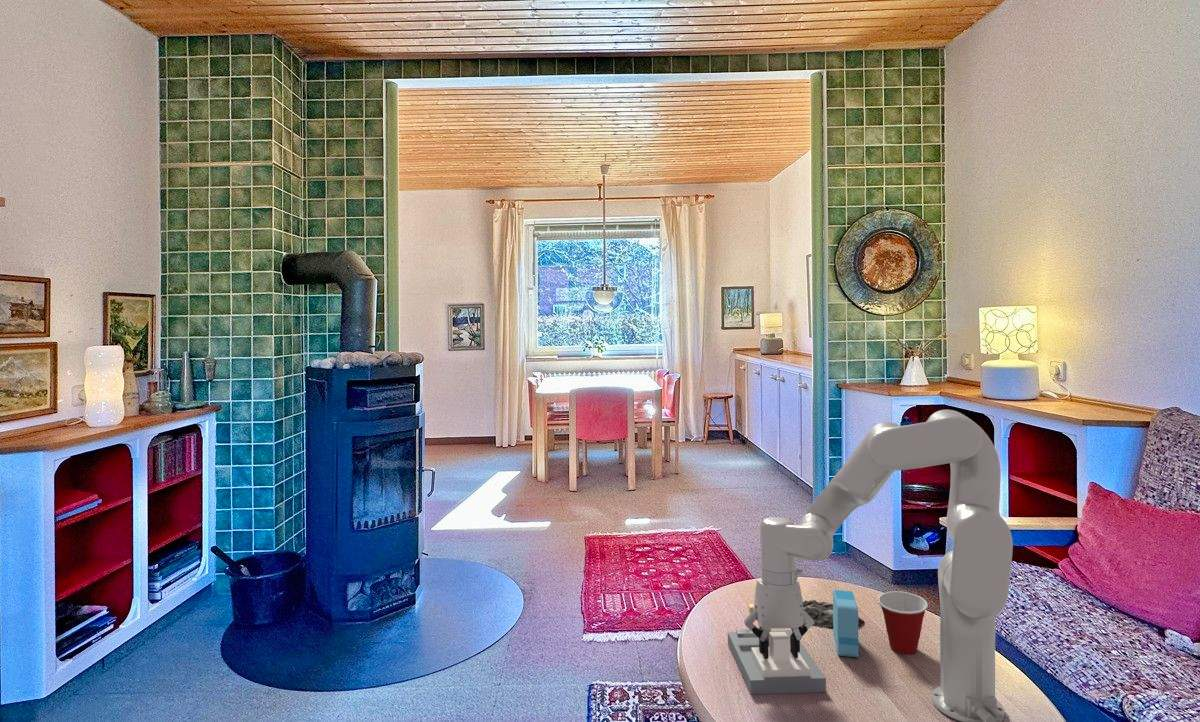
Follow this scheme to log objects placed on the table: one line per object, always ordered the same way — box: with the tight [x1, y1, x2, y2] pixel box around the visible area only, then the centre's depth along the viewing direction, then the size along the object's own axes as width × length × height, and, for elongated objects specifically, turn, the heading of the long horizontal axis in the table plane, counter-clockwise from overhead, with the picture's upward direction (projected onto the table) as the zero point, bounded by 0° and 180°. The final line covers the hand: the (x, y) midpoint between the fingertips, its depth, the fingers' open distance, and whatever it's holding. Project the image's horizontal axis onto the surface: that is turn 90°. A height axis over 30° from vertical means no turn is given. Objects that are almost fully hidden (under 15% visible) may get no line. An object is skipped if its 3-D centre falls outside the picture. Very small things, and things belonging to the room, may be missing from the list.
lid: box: [751, 632, 810, 677], centre depth 138 cm, size 10×10×6 cm
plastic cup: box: [877, 590, 929, 656], centre depth 149 cm, size 11×11×12 cm
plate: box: [727, 629, 827, 695], centre depth 143 cm, size 22×16×3 cm
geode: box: [803, 599, 865, 629], centre depth 168 cm, size 19×4×15 cm
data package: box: [832, 589, 860, 658], centre depth 151 cm, size 12×4×12 cm, turn 165°
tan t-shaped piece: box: [735, 603, 772, 644], centre depth 148 cm, size 11×2×9 cm, turn 89°
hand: (779, 654), depth 138 cm, fingers open, 5 cm apart
